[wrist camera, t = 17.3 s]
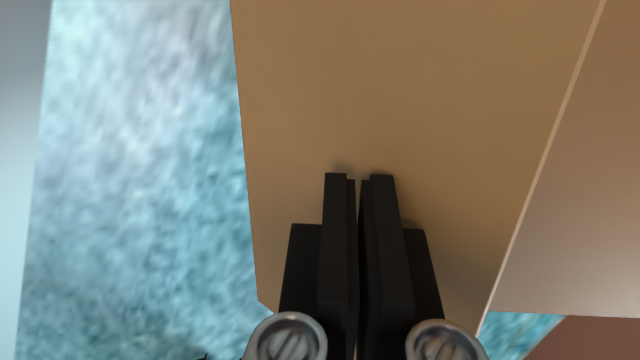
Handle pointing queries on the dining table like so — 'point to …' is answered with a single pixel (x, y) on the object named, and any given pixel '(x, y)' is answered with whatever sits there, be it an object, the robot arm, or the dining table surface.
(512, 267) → the waste box
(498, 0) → the flap
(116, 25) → the dining table surface
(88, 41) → the dining table surface
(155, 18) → the dining table surface
